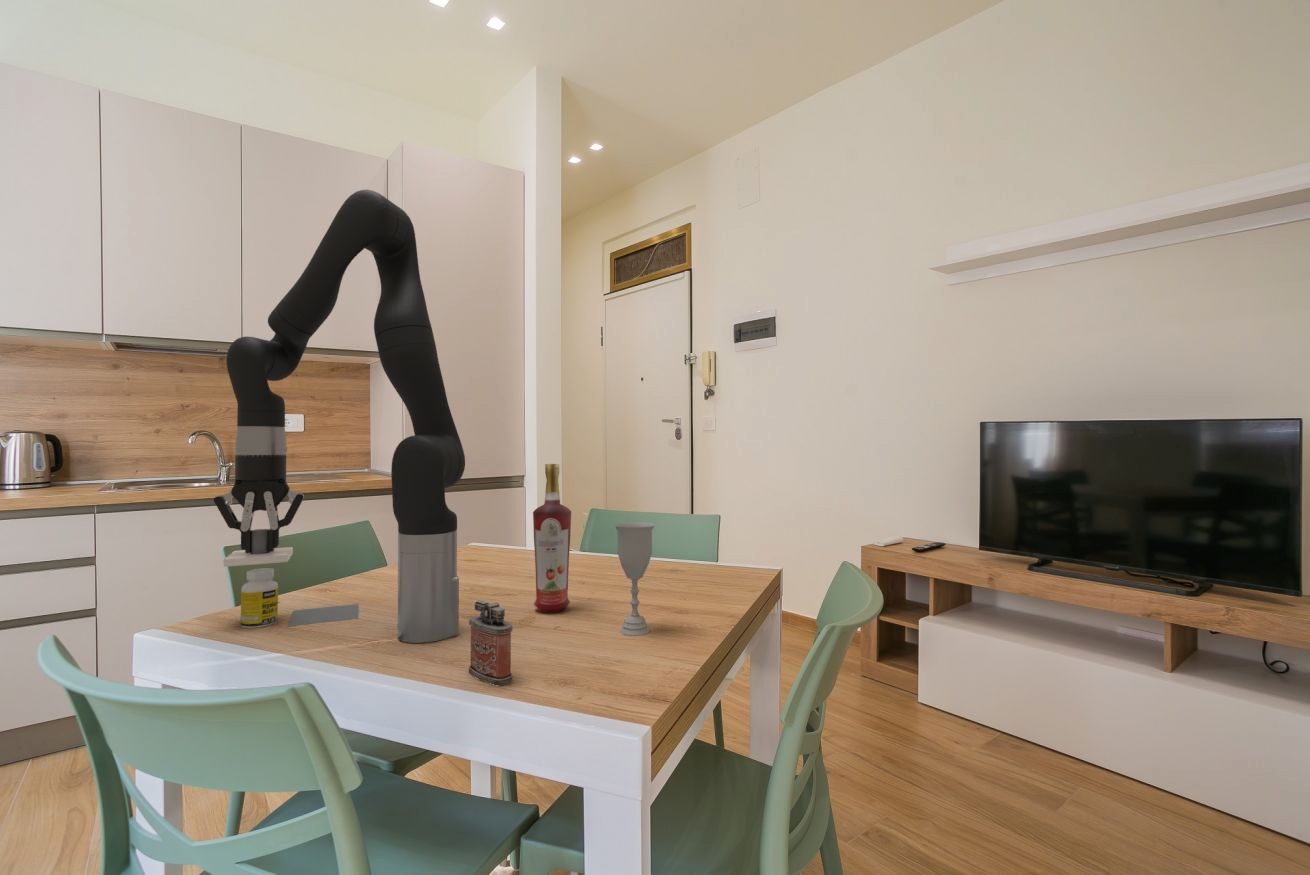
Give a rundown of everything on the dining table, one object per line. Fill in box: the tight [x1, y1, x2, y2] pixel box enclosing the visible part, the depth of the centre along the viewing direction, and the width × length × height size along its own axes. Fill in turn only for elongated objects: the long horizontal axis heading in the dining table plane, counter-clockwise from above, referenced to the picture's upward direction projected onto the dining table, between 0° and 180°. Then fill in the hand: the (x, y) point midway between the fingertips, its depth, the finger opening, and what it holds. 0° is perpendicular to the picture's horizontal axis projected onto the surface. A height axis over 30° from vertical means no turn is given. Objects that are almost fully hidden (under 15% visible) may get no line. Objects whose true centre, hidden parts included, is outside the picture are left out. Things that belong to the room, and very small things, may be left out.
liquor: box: [532, 463, 572, 614], centre depth 115 cm, size 7×7×28 cm
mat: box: [286, 603, 360, 628], centre depth 110 cm, size 11×11×1 cm
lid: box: [222, 528, 294, 568], centre depth 105 cm, size 9×9×5 cm
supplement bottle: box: [240, 567, 279, 629], centre depth 105 cm, size 5×5×10 cm
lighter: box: [468, 599, 513, 686], centre depth 82 cm, size 8×3×10 cm, turn 48°
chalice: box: [614, 521, 655, 636], centre depth 102 cm, size 7×7×18 cm
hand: (260, 551), depth 105 cm, fingers closed on lid, 2 cm apart
